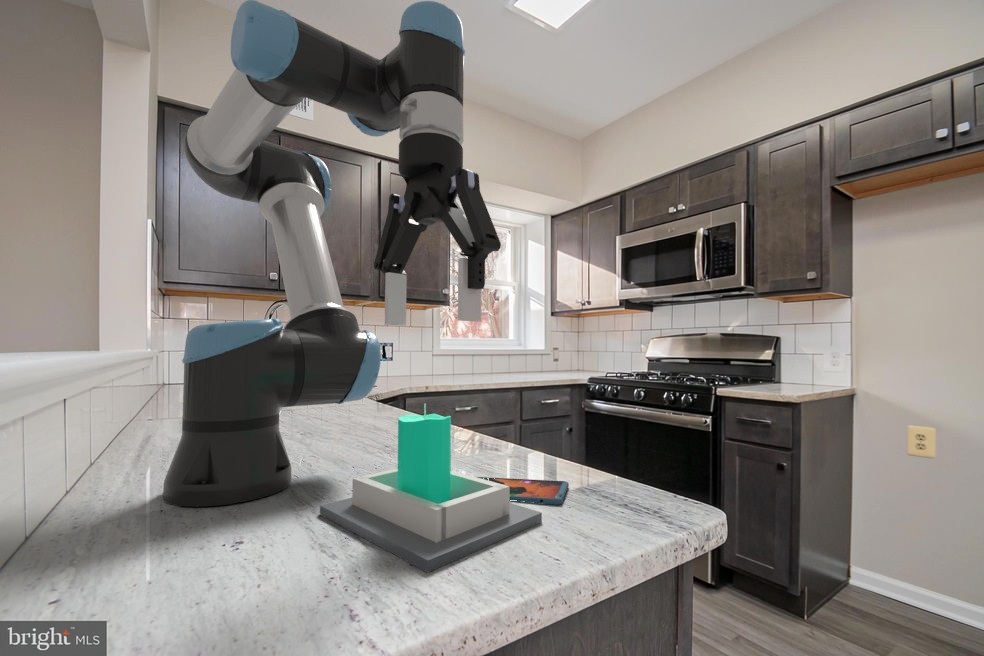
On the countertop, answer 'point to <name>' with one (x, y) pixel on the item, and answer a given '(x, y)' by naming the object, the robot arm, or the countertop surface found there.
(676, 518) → the countertop surface
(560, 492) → the smartphone
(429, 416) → the candle
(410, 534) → the dock
